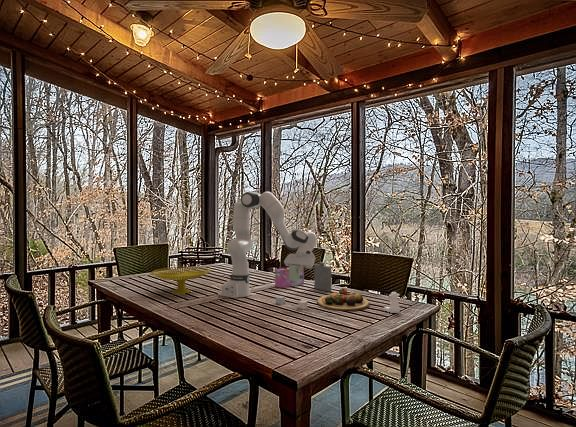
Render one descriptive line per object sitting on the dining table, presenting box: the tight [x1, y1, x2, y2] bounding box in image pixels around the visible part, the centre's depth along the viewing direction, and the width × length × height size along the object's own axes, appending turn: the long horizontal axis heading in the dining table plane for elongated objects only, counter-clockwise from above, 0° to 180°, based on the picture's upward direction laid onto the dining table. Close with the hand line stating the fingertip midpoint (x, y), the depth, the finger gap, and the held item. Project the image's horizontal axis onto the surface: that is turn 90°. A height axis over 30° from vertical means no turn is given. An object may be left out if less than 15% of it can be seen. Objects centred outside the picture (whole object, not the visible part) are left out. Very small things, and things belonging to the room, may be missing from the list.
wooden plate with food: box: [316, 287, 370, 312], centre depth 221 cm, size 32×32×8 cm
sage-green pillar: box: [288, 265, 299, 281], centre depth 218 cm, size 4×4×8 cm
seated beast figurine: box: [382, 291, 401, 314], centre depth 203 cm, size 10×9×12 cm
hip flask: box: [313, 261, 332, 293], centre depth 259 cm, size 16×4×20 cm, turn 41°
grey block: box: [275, 295, 286, 305], centre depth 221 cm, size 4×4×4 cm
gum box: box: [274, 266, 305, 289], centre depth 273 cm, size 24×8×14 cm, turn 127°
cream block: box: [297, 299, 309, 310], centre depth 211 cm, size 4×4×4 cm
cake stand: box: [150, 265, 211, 295], centre depth 247 cm, size 40×40×15 cm
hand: (293, 271), depth 218 cm, fingers closed on sage-green pillar, 4 cm apart
